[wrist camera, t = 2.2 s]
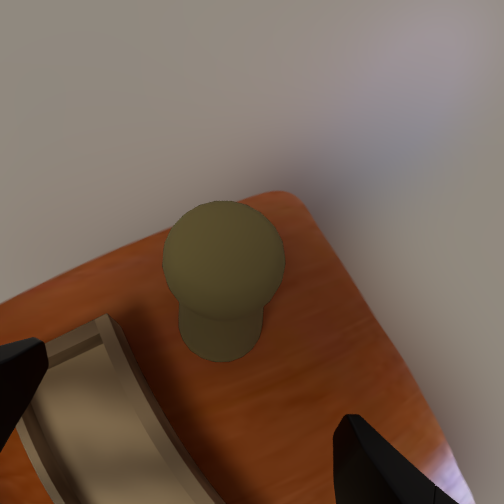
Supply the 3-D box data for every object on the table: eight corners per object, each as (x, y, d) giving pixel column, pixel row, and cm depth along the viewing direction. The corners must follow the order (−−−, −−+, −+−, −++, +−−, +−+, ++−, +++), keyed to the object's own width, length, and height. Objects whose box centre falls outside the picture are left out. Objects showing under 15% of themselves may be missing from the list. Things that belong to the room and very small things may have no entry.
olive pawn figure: (235, 269, 23) (251, 163, 13) (278, 335, 20) (334, 266, 11) (164, 304, 20) (125, 211, 11) (203, 377, 18) (189, 347, 9)
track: (265, 547, 12) (273, 565, 9) (146, 584, 8) (139, 601, 5) (120, 326, 19) (106, 313, 17) (18, 374, 15) (-3, 367, 13)
